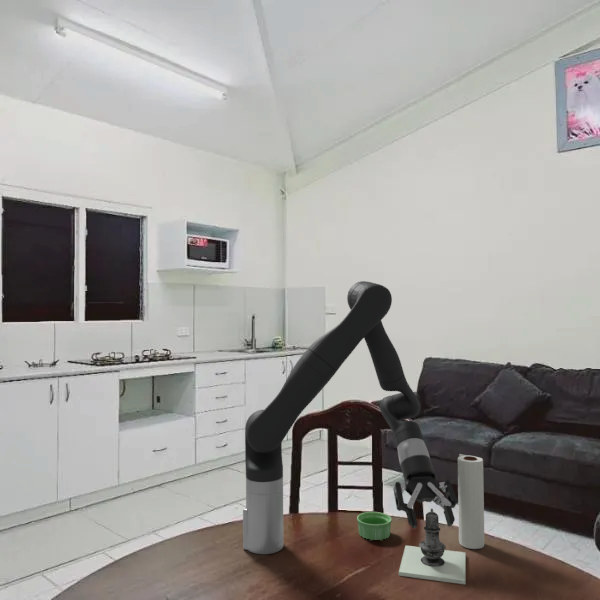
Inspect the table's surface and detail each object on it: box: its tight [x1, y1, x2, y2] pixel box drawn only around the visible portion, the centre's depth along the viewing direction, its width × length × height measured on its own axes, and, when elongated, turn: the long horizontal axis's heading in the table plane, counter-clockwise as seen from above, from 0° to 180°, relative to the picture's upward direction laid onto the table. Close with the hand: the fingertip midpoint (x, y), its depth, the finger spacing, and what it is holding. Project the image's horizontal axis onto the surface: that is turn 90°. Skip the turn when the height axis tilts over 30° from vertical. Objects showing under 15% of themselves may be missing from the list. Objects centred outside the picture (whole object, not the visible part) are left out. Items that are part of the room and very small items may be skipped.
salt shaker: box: [418, 508, 447, 567], centre depth 123 cm, size 6×6×12 cm
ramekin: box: [356, 511, 392, 541], centre depth 140 cm, size 9×9×4 cm
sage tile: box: [398, 545, 466, 585], centre depth 123 cm, size 14×14×1 cm
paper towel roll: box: [457, 453, 485, 550], centre depth 134 cm, size 7×6×21 cm
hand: (433, 525), depth 123 cm, fingers open, 8 cm apart
